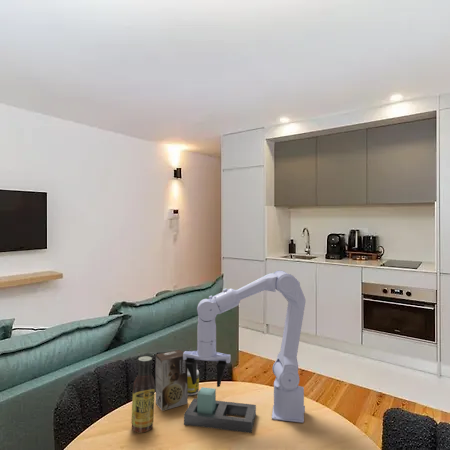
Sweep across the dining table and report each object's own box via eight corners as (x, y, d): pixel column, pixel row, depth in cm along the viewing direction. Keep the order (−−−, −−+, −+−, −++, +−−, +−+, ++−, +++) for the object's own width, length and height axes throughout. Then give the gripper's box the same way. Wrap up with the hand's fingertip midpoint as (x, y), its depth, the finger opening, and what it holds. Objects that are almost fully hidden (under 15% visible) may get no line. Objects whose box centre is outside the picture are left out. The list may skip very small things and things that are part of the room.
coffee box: (180, 396, 119) (180, 348, 119) (188, 404, 113) (188, 354, 114) (154, 402, 114) (155, 353, 114) (161, 411, 109) (162, 360, 109)
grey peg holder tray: (255, 414, 107) (255, 404, 107) (251, 433, 97) (251, 422, 97) (193, 407, 111) (193, 398, 111) (183, 424, 101) (183, 414, 101)
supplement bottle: (198, 395, 119) (198, 367, 119) (182, 395, 119) (182, 367, 119) (199, 388, 124) (199, 361, 125) (184, 388, 125) (184, 361, 125)
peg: (215, 414, 107) (215, 388, 107) (211, 422, 103) (211, 395, 103) (201, 413, 108) (201, 387, 108) (197, 420, 104) (197, 393, 104)
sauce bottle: (134, 436, 95) (134, 364, 96) (129, 425, 101) (129, 357, 101) (157, 430, 98) (157, 360, 99) (151, 419, 104) (151, 353, 104)
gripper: (232, 336, 108) (232, 380, 108) (188, 334, 111) (187, 376, 111) (228, 344, 101) (227, 391, 101) (180, 340, 104) (180, 386, 104)
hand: (206, 384), depth 105 cm, fingers open, 7 cm apart
